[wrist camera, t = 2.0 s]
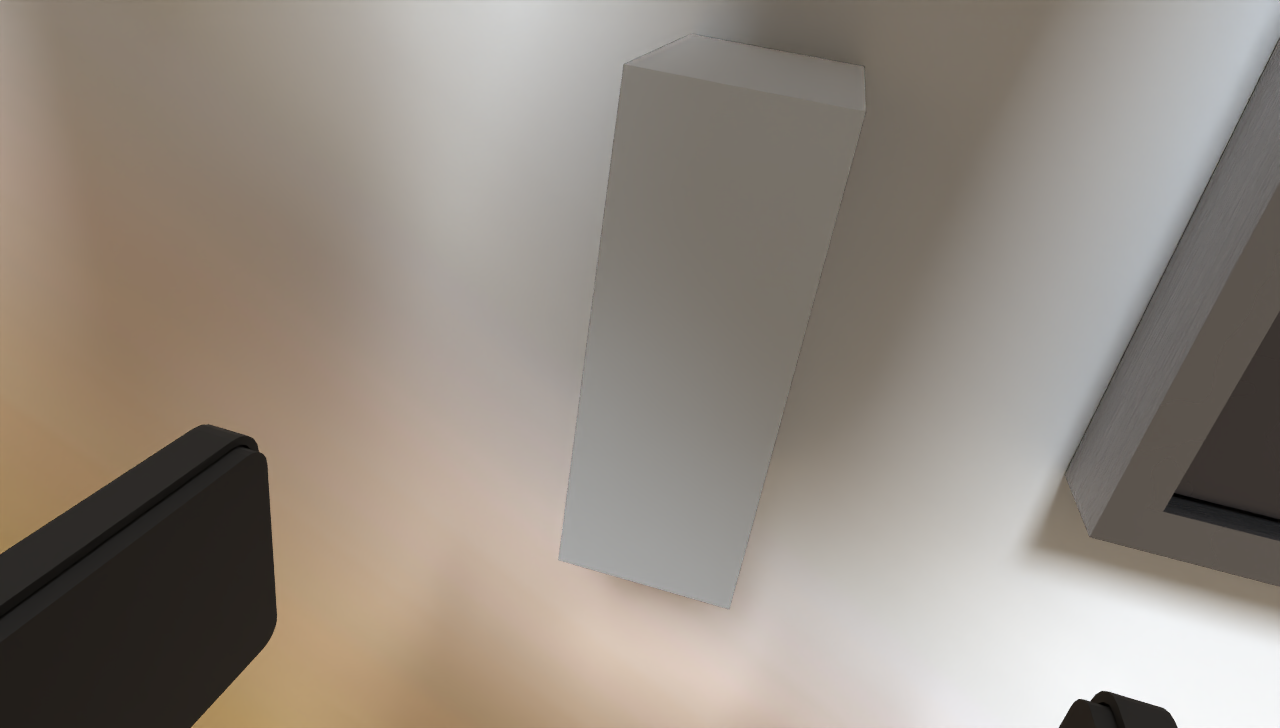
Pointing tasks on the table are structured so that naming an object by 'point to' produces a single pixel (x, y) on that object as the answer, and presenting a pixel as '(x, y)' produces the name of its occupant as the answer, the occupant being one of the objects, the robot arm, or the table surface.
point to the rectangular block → (702, 303)
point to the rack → (1202, 380)
